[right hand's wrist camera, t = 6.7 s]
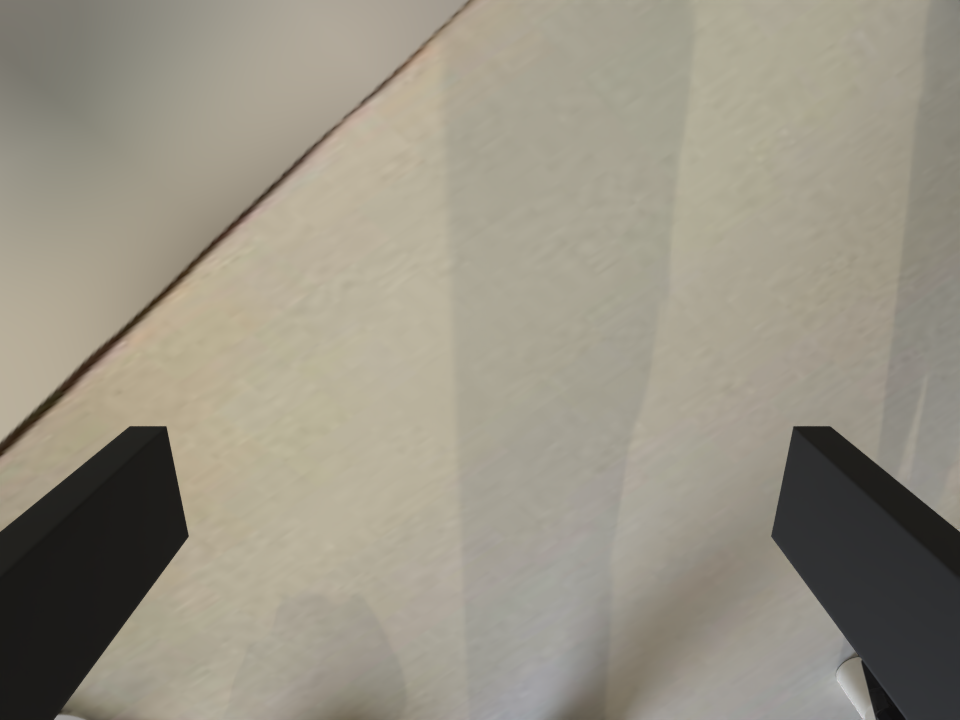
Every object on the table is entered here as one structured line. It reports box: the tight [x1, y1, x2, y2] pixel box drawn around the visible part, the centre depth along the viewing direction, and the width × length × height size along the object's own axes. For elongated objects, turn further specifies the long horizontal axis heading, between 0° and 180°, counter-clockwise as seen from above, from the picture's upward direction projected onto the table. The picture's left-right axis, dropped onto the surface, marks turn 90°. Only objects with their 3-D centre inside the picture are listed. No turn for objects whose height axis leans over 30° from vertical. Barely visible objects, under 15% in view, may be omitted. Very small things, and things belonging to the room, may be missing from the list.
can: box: [836, 657, 875, 720], centre depth 51 cm, size 4×4×4 cm
